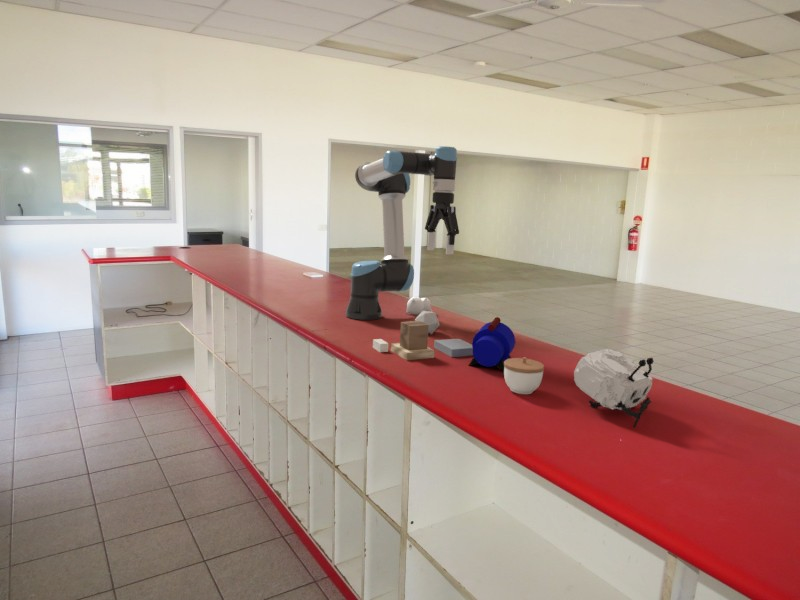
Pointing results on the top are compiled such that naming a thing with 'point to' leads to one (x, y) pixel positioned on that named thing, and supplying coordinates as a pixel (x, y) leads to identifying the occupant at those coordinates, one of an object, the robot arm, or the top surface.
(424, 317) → the die
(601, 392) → the robot
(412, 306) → the white rounded figure
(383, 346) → the white brick
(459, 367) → the top surface
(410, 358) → the oak slab
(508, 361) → the lidded jar
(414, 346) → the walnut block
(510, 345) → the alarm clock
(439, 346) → the grey slab
